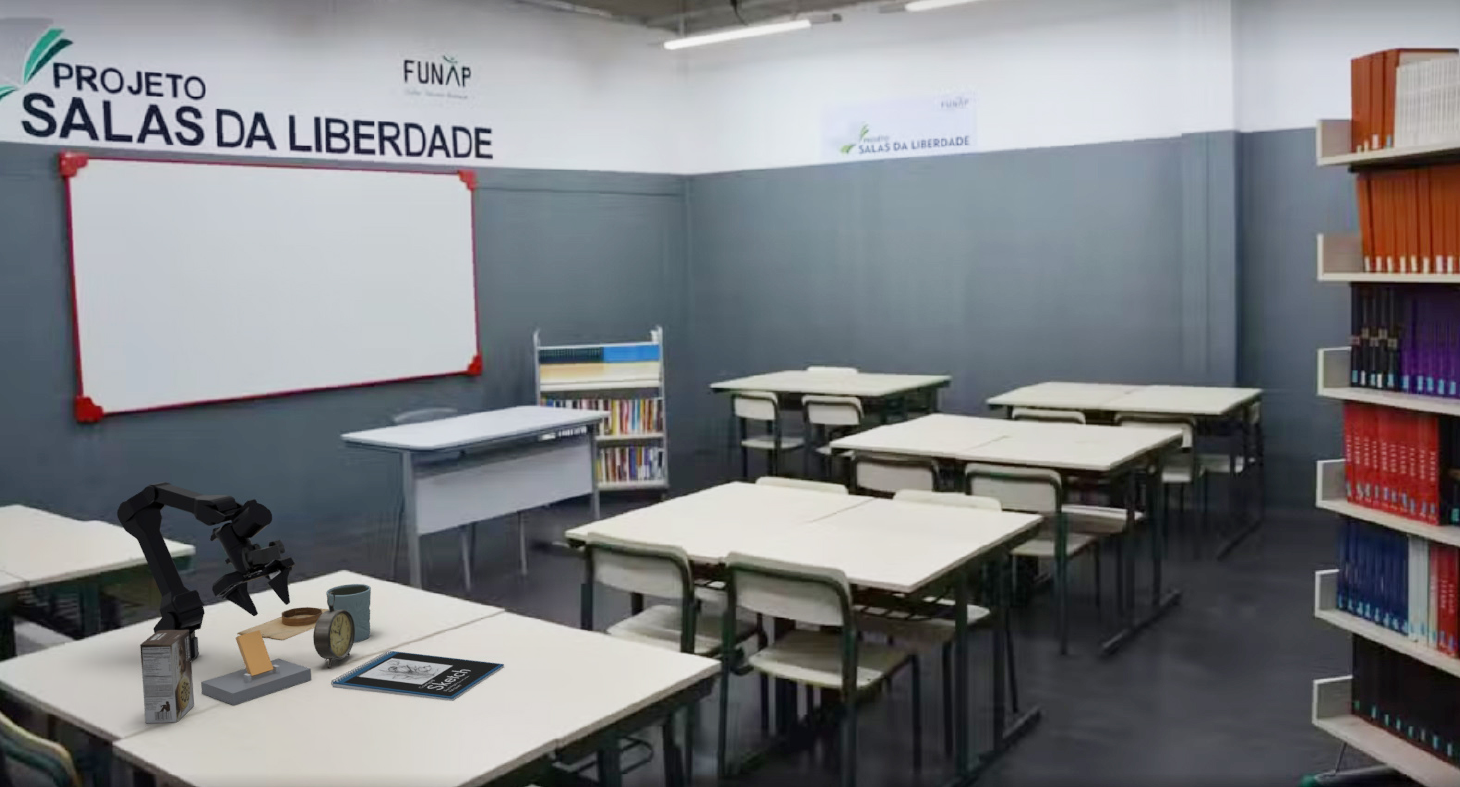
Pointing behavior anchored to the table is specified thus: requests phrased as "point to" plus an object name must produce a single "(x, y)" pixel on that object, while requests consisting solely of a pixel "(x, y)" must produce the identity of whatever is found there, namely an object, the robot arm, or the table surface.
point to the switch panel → (255, 682)
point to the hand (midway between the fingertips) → (272, 609)
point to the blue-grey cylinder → (354, 606)
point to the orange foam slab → (254, 653)
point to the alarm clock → (334, 633)
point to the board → (288, 623)
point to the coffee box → (167, 676)
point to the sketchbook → (417, 675)
